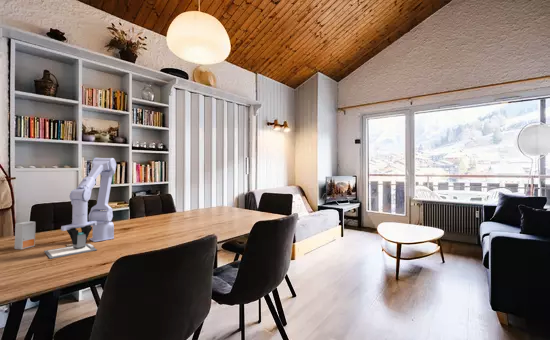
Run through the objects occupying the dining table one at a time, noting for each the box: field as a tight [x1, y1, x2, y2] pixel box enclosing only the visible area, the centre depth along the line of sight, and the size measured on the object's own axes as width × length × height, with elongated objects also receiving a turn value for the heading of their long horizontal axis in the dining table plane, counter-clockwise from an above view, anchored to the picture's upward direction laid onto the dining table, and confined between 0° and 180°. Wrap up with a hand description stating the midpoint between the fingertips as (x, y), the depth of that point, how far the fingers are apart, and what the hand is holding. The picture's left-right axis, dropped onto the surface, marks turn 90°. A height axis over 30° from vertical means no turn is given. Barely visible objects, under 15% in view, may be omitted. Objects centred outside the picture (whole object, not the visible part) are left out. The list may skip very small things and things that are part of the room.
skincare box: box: [14, 220, 37, 250], centre depth 127 cm, size 6×4×12 cm
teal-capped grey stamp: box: [72, 231, 87, 249], centre depth 126 cm, size 4×4×7 cm
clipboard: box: [43, 243, 98, 260], centre depth 124 cm, size 17×14×1 cm
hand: (79, 243), depth 126 cm, fingers closed on teal-capped grey stamp, 4 cm apart
